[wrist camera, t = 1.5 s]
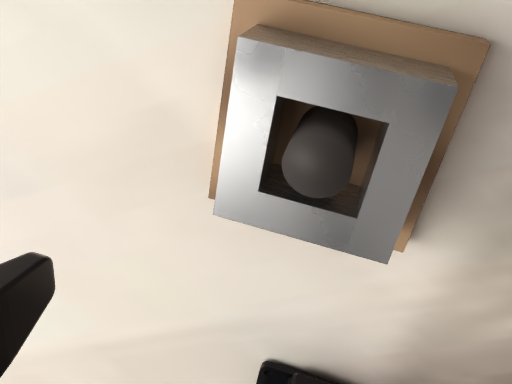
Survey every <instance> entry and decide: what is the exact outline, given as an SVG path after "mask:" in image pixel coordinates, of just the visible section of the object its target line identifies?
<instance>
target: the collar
mask: <svg viewBox="0 0 512 384" xmlns="http://www.w3.org/2000/svg"><path fill="white" fill-rule="evenodd" d="M458 88H459V87H458V85H457V82H456V80H455V78H454V76H453V74H452V72H451V70H450V68H449V67H448V66H443V65H439V64H434V63H430V62H425V61H421V60H416V59H412V58H408V57H403V56H399V55H394V54H390V53H385V52H381V51H376V50H372V49H368V48H363V47H359V46H354V45H350V44H345V43H341V42H336V41H332V40H328V39H323V38H319V37H314V36H310V35H305V34H301V33H296V32H292V31H288V30H283V29H279V28H274V27H270V26H265V25H261V24H256V25H255V26H253V27H252V28H250V29H249V30H247V31H246V32H244V33H242V34H241V35H239V36H238V40H237V47H236V54H235V61H234V68H233V75H232V83H231V90H230V97H229V104H228V111H227V118H226V125H225V133H224V140H223V147H222V154H221V161H220V168H219V176H218V183H217V190H216V197H215V204H214V211H213V215H216V216H219V217H223V218H226V219H230V220H233V221H237V222H240V223H244V224H247V225H251V226H254V227H258V228H261V229H265V230H268V231H272V232H275V233H279V234H282V235H286V236H289V237H293V238H296V239H300V240H303V241H307V242H310V243H314V244H317V245H321V246H324V247H328V248H331V249H335V250H338V251H342V252H345V253H349V254H352V255H356V256H359V257H363V258H366V259H370V260H373V261H377V262H380V263H384V264H388V261H389V259H390V256H391V254H392V251H393V249H394V246H395V244H396V241H397V239H398V236H399V234H400V232H401V229H402V227H403V224H404V222H405V219H406V217H407V214H408V212H409V209H410V207H411V204H412V202H413V199H414V197H415V194H416V192H417V189H418V187H419V185H420V182H421V180H422V177H423V175H424V172H425V170H426V167H427V165H428V162H429V160H430V157H431V155H432V152H433V150H434V147H435V145H436V143H437V140H438V138H439V135H440V133H441V130H442V128H443V125H444V123H445V120H446V118H447V115H448V113H449V110H450V108H451V105H452V103H453V100H454V98H455V96H456V93H457V91H458ZM286 98H289V99H293V100H297V101H301V102H305V103H309V104H313V105H317V106H321V107H325V108H329V109H334V110H338V111H342V112H346V113H350V114H354V115H358V116H362V117H366V118H370V119H374V120H378V121H382V123H381V126H380V130H379V133H378V136H377V139H376V142H375V145H374V148H373V151H372V154H371V157H370V160H369V163H368V166H367V169H366V172H365V175H364V178H363V181H362V184H361V186H358V185H354V184H350V183H348V184H347V185H346V187H345V188H344V189H343V190H341V191H340V192H339V193H337V194H335V195H333V196H330V197H326V198H312V197H308V196H305V195H302V194H300V193H299V192H297V191H296V190H294V189H293V188H292V187H291V186H290V185H289V183H288V182H287V181H286V179H285V177H284V174H283V171H282V165H279V164H275V163H273V159H274V154H275V149H276V144H277V140H278V135H279V130H280V125H281V120H282V115H283V111H284V106H285V101H286Z"/></svg>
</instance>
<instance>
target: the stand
mask: <svg viewBox="0 0 512 384" xmlns="http://www.w3.org/2000/svg"><path fill="white" fill-rule="evenodd" d="M256 24H261V25H265V26H270V27H274V28H279V29H283V30H288V31H292V32H296V33H301V34H305V35H310V36H314V37H319V38H323V39H328V40H332V41H336V42H341V43H345V44H350V45H354V46H359V47H363V48H368V49H372V50H376V51H381V52H385V53H390V54H394V55H399V56H403V57H408V58H412V59H416V60H421V61H425V62H430V63H434V64H439V65H443V66H448V67H449V68H450V70H451V72H452V74H453V76H454V78H455V80H456V82H457V85H458V87H459V88H458V91H457V93H456V96H455V98H454V100H453V103H452V105H451V108H450V110H449V113H448V115H447V118H446V120H445V123H444V125H443V128H442V130H441V133H440V135H439V138H438V140H437V143H436V145H435V147H434V150H433V152H432V155H431V157H430V160H429V162H428V165H427V167H426V170H425V172H424V175H423V177H422V180H421V182H420V185H419V187H418V189H417V192H416V194H415V197H414V199H413V202H412V204H411V207H410V209H409V212H408V214H407V217H406V219H405V222H404V224H403V227H402V229H401V232H400V234H399V236H398V239H397V241H396V244H395V246H394V249H393V250H396V251H399V252H403V251H404V249H405V247H406V244H407V242H408V240H409V237H410V235H411V232H412V230H413V228H414V225H415V223H416V221H417V218H418V216H419V213H420V211H421V209H422V206H423V204H424V201H425V199H426V197H427V194H428V192H429V190H430V187H431V185H432V182H433V180H434V178H435V175H436V173H437V171H438V168H439V166H440V163H441V161H442V159H443V156H444V154H445V152H446V149H447V147H448V144H449V142H450V140H451V137H452V135H453V132H454V130H455V128H456V125H457V123H458V121H459V118H460V116H461V113H462V111H463V109H464V106H465V104H466V102H467V99H468V97H469V94H470V92H471V90H472V87H473V85H474V83H475V80H476V78H477V75H478V73H479V71H480V68H481V66H482V63H483V61H484V59H485V56H486V54H487V52H488V49H489V47H490V43H489V42H488V41H487V40H486V39H484V38H479V37H474V36H470V35H465V34H460V33H456V32H451V31H446V30H442V29H437V28H433V27H428V26H423V25H419V24H414V23H409V22H405V21H400V20H395V19H391V18H386V17H381V16H377V15H372V14H367V13H363V12H358V11H353V10H349V9H344V8H340V7H335V6H330V5H326V4H321V3H316V2H312V1H307V0H234V5H233V13H232V21H231V28H230V36H229V44H228V51H227V59H226V67H225V74H224V82H223V90H222V97H221V105H220V113H219V120H218V128H217V136H216V143H215V151H214V159H213V166H212V174H211V181H210V189H209V197H208V198H211V199H214V200H215V197H216V190H217V183H218V176H219V168H220V161H221V154H222V147H223V140H224V133H225V125H226V118H227V111H228V104H229V97H230V90H231V83H232V75H233V68H234V61H235V54H236V47H237V40H238V36H239V35H241V34H242V33H244V32H246V31H247V30H249V29H250V28H252V27H253V26H255V25H256ZM381 123H382V121H378V120H374V119H370V118H366V117H362V116H358V115H354V114H350V113H346V112H342V111H338V110H334V109H329V108H325V107H321V106H317V105H313V104H309V103H305V102H301V101H297V100H293V99H289V98H286V101H285V106H284V111H283V115H282V120H281V125H280V130H279V135H278V140H277V144H276V149H275V154H274V159H273V163H275V164H279V165H282V171H283V174H284V177H285V179H286V181H287V182H288V183H289V185H290V186H291V187H292V188H293V189H294V190H296V191H297V192H299V193H300V194H302V195H305V196H308V197H312V198H326V197H330V196H333V195H335V194H337V193H339V192H340V191H341V190H343V189H344V188H345V187H346V185H347V184H348V183H350V184H354V185H358V186H361V184H362V181H363V178H364V175H365V172H366V169H367V166H368V163H369V160H370V157H371V154H372V151H373V148H374V145H375V142H376V139H377V136H378V133H379V130H380V126H381Z"/></svg>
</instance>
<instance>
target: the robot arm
mask: <svg viewBox="0 0 512 384" xmlns="http://www.w3.org/2000/svg"><path fill="white" fill-rule="evenodd" d="M54 291H55V278H54V269H53V262H52V260H51V258H50V257H48V256H45V255H42V254H39V253H35V252H30V253H26V254H24V255H21V256H19V257H16V258H14V259H11V260H9V261H6V262H4V263H2V264H0V377H1V376H2V375H3V373H4V372H5V371H6V369H7V368H8V367H9V365H10V364H11V362H12V361H13V359H14V358H15V356H16V355H17V353H18V352H19V350H20V349H21V347H22V345H23V344H24V342H25V341H26V339H27V337H28V336H29V334H30V332H31V331H32V329H33V328H34V326H35V324H36V323H37V321H38V320H39V318H40V316H41V315H42V313H43V312H44V310H45V308H46V307H47V305H48V303H49V302H50V300H51V299H52V297H53V294H54ZM256 384H338V383H335V382H332V381H329V380H326V379H323V378H320V377H317V376H313V375H310V374H307V373H304V372H301V371H298V370H295V369H292V368H289V367H286V366H283V365H280V364H276V363H273V362H270V361H265V362H263V363H262V365H261V368H260V371H259V375H258V379H257V383H256Z"/></svg>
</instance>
